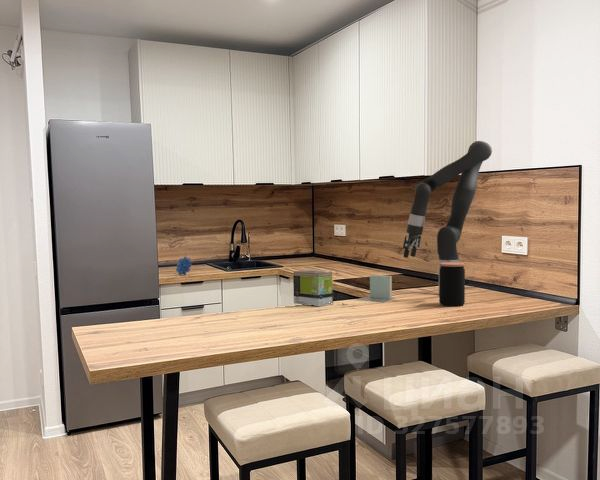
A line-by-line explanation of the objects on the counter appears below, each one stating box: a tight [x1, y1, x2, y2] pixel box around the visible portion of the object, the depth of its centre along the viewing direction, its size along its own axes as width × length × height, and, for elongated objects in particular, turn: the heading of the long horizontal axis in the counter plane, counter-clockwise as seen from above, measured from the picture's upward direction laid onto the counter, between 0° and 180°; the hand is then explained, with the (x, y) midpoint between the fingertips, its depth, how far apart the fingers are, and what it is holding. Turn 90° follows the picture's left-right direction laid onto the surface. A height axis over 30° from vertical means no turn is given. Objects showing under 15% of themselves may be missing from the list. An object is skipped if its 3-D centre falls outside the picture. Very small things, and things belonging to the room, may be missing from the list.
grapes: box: [175, 256, 193, 275], centre depth 374 cm, size 12×7×12 cm, turn 134°
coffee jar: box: [438, 262, 466, 308], centre depth 244 cm, size 11×11×18 cm
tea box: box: [292, 269, 333, 307], centre depth 250 cm, size 15×10×15 cm, turn 47°
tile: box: [369, 274, 393, 299], centre depth 257 cm, size 10×2×10 cm, turn 56°
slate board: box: [355, 295, 397, 303], centre depth 253 cm, size 14×14×2 cm
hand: (409, 256), depth 273 cm, fingers open, 8 cm apart
